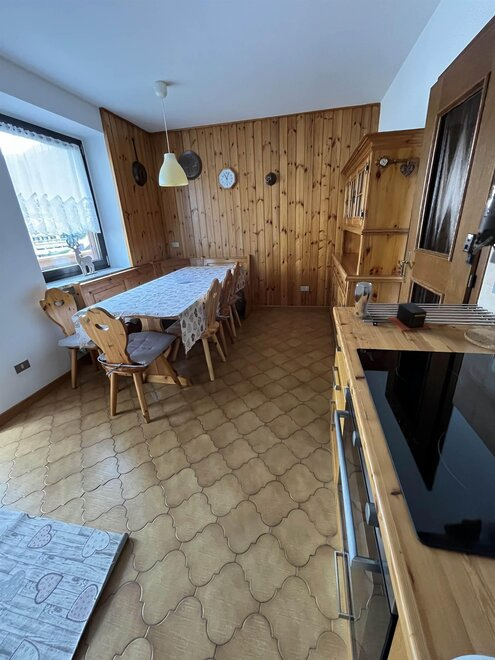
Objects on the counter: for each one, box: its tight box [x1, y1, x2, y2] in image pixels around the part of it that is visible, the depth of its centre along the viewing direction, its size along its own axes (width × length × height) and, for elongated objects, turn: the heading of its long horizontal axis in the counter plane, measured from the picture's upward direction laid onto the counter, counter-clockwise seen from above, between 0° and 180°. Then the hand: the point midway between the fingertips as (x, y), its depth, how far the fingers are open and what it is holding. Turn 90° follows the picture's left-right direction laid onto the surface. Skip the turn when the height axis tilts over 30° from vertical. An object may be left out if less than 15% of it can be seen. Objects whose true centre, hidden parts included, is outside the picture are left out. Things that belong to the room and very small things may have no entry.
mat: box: [387, 316, 432, 332], centre depth 121 cm, size 12×12×1 cm
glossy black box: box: [395, 302, 428, 328], centre depth 118 cm, size 11×6×7 cm, turn 3°
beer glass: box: [353, 281, 373, 319], centre depth 127 cm, size 7×7×15 cm
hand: (481, 263), depth 97 cm, fingers open, 8 cm apart
